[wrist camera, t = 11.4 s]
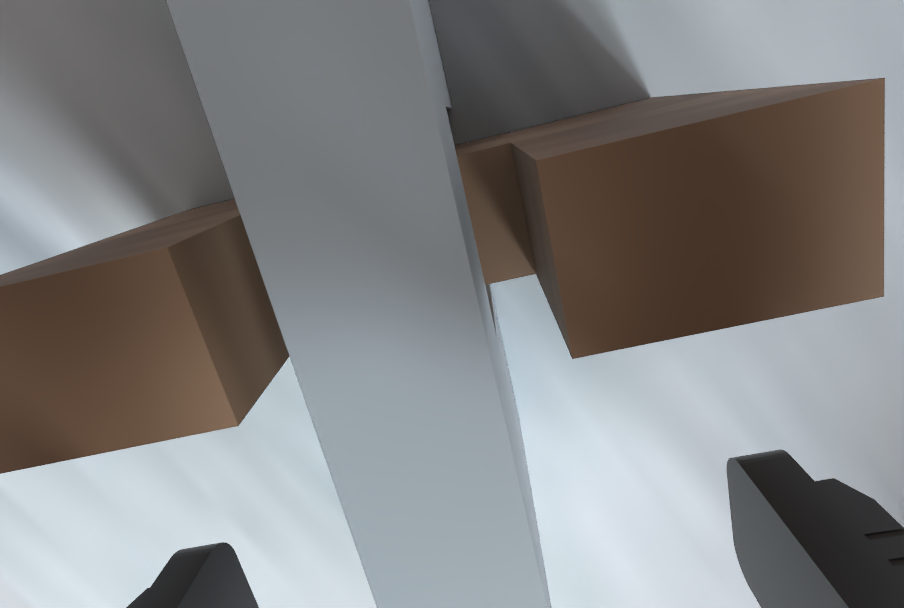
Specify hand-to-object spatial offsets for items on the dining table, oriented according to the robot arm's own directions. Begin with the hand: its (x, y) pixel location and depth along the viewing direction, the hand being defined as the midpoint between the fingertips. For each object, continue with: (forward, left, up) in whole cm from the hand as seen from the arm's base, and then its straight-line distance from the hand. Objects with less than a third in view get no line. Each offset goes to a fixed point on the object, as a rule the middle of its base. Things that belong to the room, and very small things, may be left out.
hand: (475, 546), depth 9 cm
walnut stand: (0, -5, -7) cm, 9 cm away
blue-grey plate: (0, -4, -7) cm, 8 cm away
